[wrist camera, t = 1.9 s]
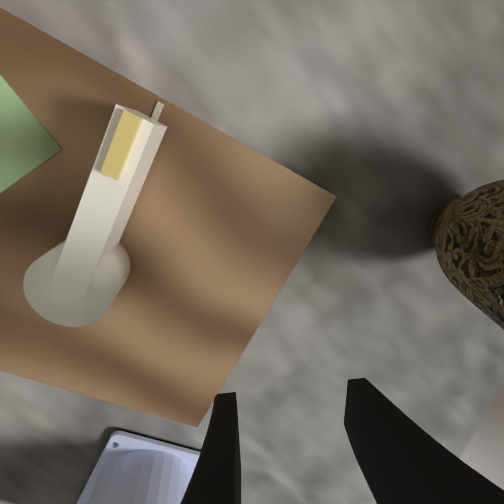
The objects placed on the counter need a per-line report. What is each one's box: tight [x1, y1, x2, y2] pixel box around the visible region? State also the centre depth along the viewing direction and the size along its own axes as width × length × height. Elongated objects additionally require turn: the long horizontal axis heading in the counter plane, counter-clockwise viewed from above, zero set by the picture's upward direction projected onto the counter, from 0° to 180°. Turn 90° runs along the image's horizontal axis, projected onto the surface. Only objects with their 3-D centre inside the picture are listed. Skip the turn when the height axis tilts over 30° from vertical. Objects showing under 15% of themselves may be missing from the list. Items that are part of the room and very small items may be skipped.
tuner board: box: [0, 8, 337, 427], centre depth 17 cm, size 18×20×1 cm
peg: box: [23, 104, 167, 327], centre depth 14 cm, size 10×4×4 cm, turn 152°
